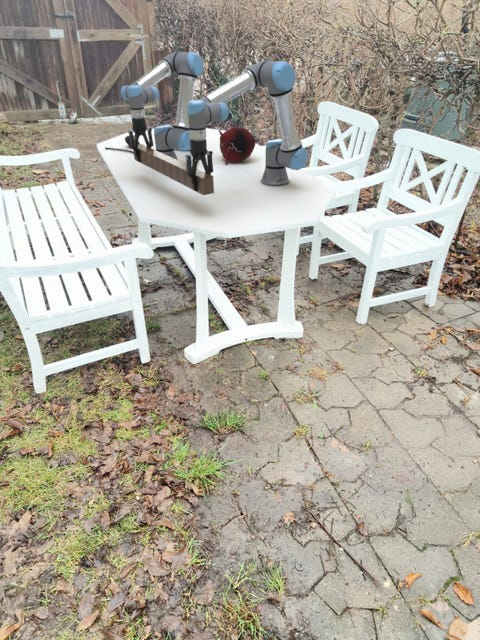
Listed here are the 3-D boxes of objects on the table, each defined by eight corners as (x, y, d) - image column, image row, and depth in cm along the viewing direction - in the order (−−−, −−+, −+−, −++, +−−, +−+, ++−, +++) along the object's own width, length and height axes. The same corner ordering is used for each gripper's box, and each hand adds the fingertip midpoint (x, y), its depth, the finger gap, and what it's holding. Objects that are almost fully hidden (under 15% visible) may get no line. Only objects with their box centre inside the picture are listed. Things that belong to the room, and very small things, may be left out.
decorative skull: (216, 133, 304) (216, 130, 280) (250, 125, 303) (253, 121, 280) (223, 165, 311) (223, 165, 287) (256, 157, 310) (259, 157, 286)
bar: (134, 159, 263) (132, 145, 258) (143, 158, 265) (141, 144, 261) (203, 195, 210) (202, 178, 206) (214, 192, 213) (213, 176, 208)
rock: (137, 146, 338) (124, 147, 334) (135, 134, 334) (122, 135, 330) (142, 146, 329) (128, 148, 324) (140, 134, 325) (126, 135, 321)
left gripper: (125, 120, 239) (131, 164, 252) (156, 116, 248) (161, 159, 261) (119, 118, 244) (126, 162, 257) (150, 114, 253) (155, 156, 266)
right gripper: (184, 143, 196) (188, 195, 209) (220, 137, 205) (221, 187, 218) (175, 140, 201) (180, 191, 214) (211, 134, 210) (213, 183, 223)
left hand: (143, 160), depth 259 cm, fingers closed on bar, 6 cm apart
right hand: (201, 189), depth 216 cm, fingers closed on bar, 6 cm apart
